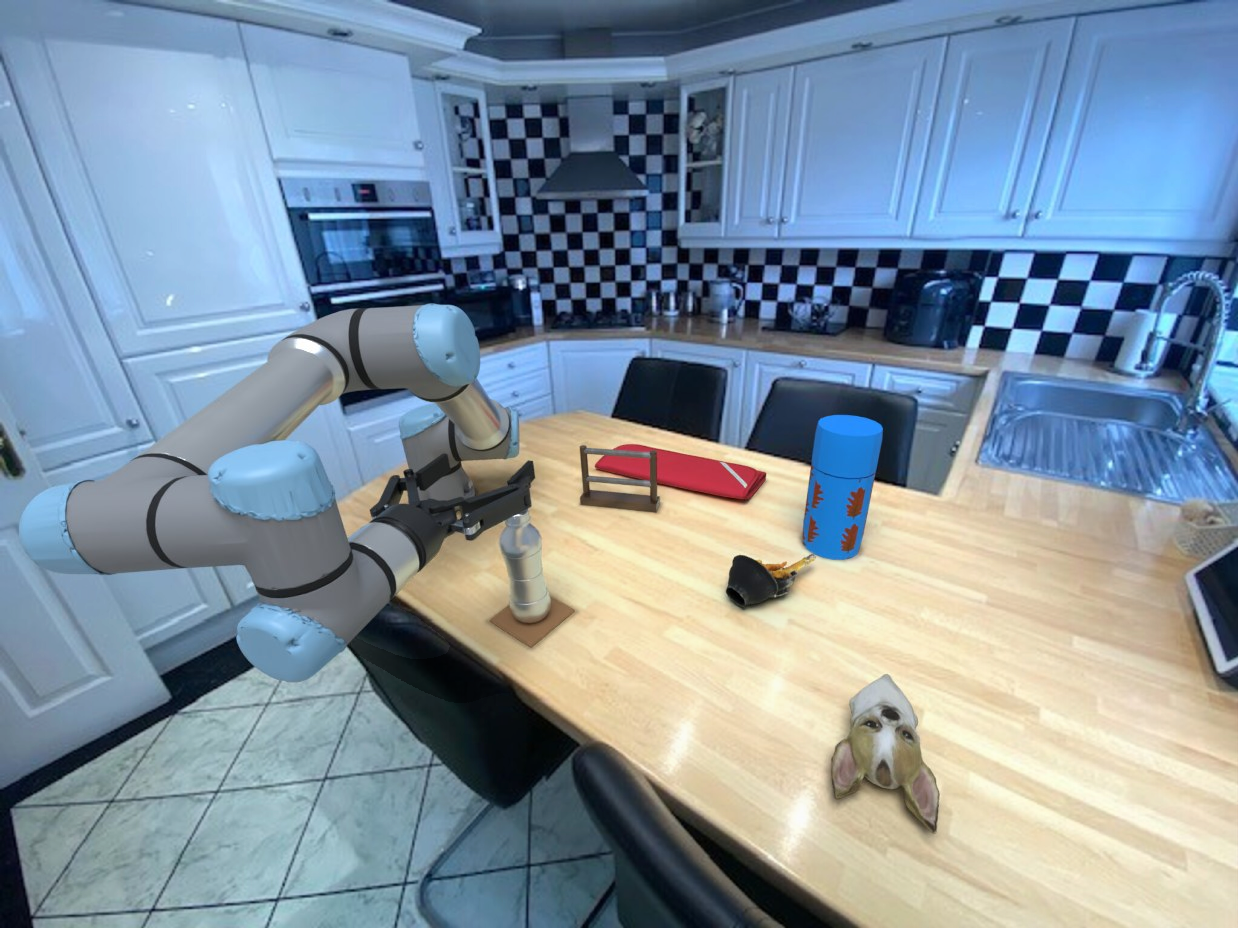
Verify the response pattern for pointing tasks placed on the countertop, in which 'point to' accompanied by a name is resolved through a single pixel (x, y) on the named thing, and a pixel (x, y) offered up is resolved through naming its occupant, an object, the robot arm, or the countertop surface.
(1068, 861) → the countertop surface
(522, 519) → the silver water bottle
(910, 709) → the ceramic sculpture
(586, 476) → the rail rack
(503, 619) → the coaster
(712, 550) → the countertop surface
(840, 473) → the thermos
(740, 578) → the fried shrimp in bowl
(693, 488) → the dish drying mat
